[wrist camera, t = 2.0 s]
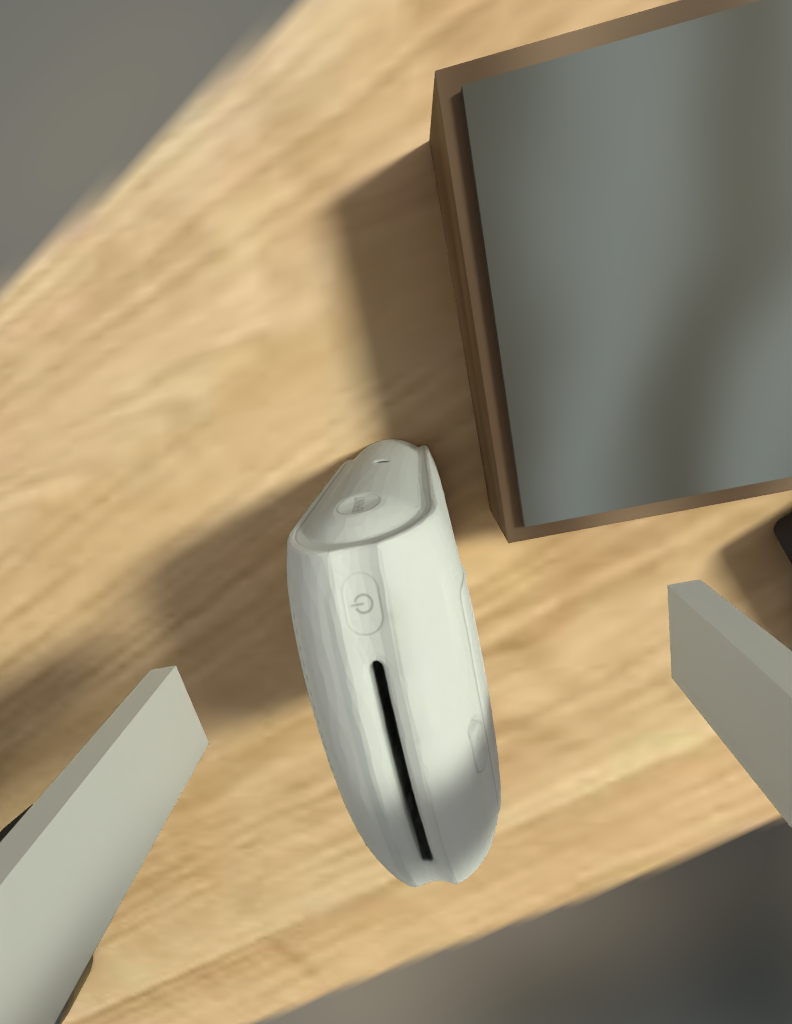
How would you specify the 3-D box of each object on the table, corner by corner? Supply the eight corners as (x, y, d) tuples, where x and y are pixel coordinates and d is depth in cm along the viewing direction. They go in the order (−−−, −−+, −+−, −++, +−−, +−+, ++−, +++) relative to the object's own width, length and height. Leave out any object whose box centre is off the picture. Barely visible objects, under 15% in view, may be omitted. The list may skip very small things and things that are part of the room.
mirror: (490, 509, 20) (510, 546, 16) (429, 140, 16) (435, 64, 12) (827, 444, 19) (941, 465, 15) (853, 23, 15) (1019, -105, 11)
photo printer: (333, 446, 20) (219, 566, 8) (432, 426, 19) (465, 521, 8) (383, 649, 23) (354, 955, 11) (470, 636, 22) (535, 937, 11)
